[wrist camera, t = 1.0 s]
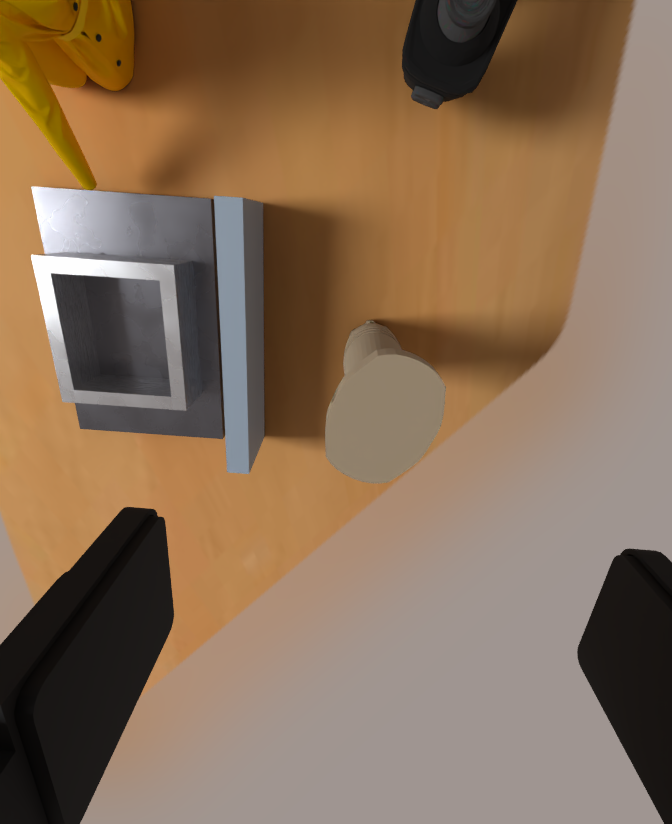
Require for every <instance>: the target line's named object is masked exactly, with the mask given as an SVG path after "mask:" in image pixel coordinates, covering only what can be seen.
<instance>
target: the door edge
mask: <svg viewBox="0 0 672 824" xmlns="http://www.w3.org/2000/svg"><path fill="white" fill-rule="evenodd" d="M214 207H215V228H216V249H217V270H218V291H219V312H220V332H221V353H222V374H223V395H224V416H225V437H226V458H227V472H230V473H244V474H249V473H250V470H251V468H252V466H253V463H254V461H255V458H256V456H257V453H258V451H259V448H260V446H261V444H262V441H263V439H264V436H265V435H264V267H263V203H261V202H257V201H253V200H249V199H245V198H238V197H224V196H214Z"/></svg>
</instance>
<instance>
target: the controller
mask: <svg viewBox="0 0 672 824" xmlns="http://www.w3.org/2000/svg"><path fill="white" fill-rule="evenodd" d="M516 2H517V0H416V1H415V5H414V9H413V12H412V16H411V20H410V23H409V27H408V31H407V34H406V38H405V42H404V46H403V55H402V57H403V59H402V69H403V72H404V79H405V82H406V83H407V85H408V86H409V87H410V88H411V89H413V92H412V95H411V98H412V99H413V100H414V101H416V102H418V103H420V104H423V105H425V106H428V107H430V108H433V109H438V108H439V106H440V105H441V104H442V103H443V102H446V101H450V100H453V99H456V98H460V97H463V96H464V95H466V94H467V93H471V92H473V91H474V90H475V89H476V88H477V86H478V84H479V82H480V81H481V79H482V77H483V75H484V74H485V72H486V70H487V68H488V65H489V63H490V61H491V59H492V56H493V54H494V52H495V50H496V47H497V45H498V43H499V41H500V38H501V36H502V34H503V32H504V29H505V27H506V25H507V23H508V20H509V18H510V16H511V14H512V11H513V9H514V7H515V5H516Z"/></svg>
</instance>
